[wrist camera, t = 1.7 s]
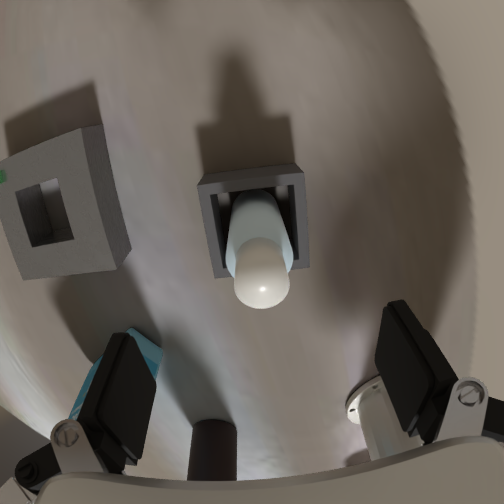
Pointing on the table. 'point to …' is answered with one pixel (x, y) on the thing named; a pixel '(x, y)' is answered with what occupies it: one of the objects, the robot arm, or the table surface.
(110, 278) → the table surface
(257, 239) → the plug
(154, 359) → the data package
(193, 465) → the vinegar
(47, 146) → the port
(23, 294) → the table surface
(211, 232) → the grey open box
